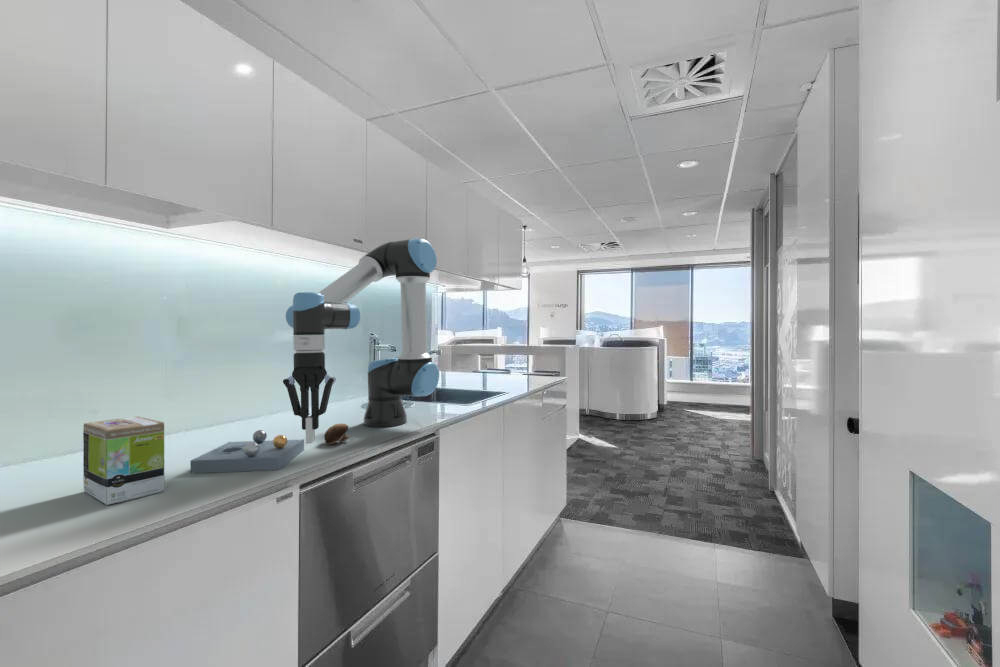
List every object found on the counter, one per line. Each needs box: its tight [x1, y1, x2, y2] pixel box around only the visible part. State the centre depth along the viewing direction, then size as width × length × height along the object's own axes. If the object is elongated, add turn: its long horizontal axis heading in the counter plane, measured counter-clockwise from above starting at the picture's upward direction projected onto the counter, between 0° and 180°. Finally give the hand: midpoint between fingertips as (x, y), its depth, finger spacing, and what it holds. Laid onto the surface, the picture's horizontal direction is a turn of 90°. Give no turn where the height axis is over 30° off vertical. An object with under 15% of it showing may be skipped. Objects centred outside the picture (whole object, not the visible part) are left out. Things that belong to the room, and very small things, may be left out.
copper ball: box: [273, 434, 288, 448], centre depth 116 cm, size 3×3×3 cm
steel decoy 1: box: [244, 442, 260, 457], centre depth 109 cm, size 3×3×3 cm
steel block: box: [252, 429, 268, 443], centre depth 123 cm, size 3×3×3 cm
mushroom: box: [323, 423, 350, 445], centre depth 133 cm, size 8×8×6 cm
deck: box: [189, 439, 305, 474], centre depth 116 cm, size 20×18×3 cm
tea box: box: [82, 416, 166, 506], centre depth 94 cm, size 15×10×15 cm, turn 56°
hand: (310, 441), depth 117 cm, fingers closed
